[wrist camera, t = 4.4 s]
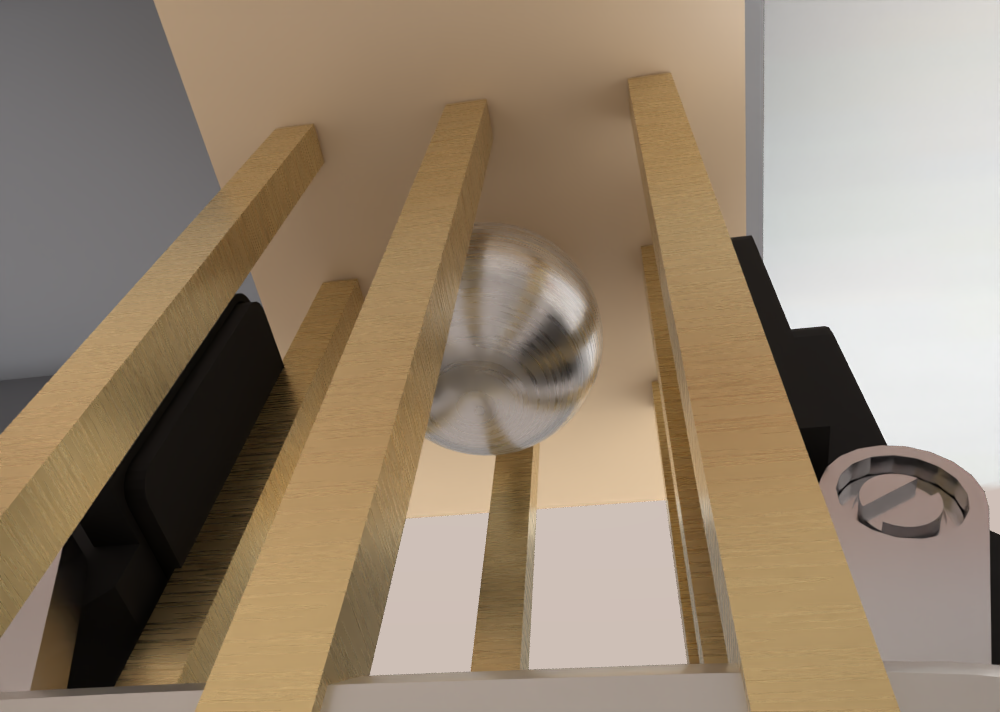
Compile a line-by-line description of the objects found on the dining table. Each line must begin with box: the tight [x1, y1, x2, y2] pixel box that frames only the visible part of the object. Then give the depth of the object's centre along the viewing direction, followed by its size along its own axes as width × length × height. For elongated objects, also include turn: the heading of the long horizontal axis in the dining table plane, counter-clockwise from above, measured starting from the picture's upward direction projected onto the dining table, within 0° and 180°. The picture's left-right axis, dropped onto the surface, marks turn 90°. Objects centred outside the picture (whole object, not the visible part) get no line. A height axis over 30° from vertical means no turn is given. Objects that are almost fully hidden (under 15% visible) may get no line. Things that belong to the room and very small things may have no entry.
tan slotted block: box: [0, 73, 900, 712], centre depth 9 cm, size 6×6×11 cm
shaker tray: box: [0, 0, 764, 519], centre depth 18 cm, size 12×24×8 cm, turn 99°
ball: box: [425, 222, 603, 456], centre depth 12 cm, size 3×3×3 cm
